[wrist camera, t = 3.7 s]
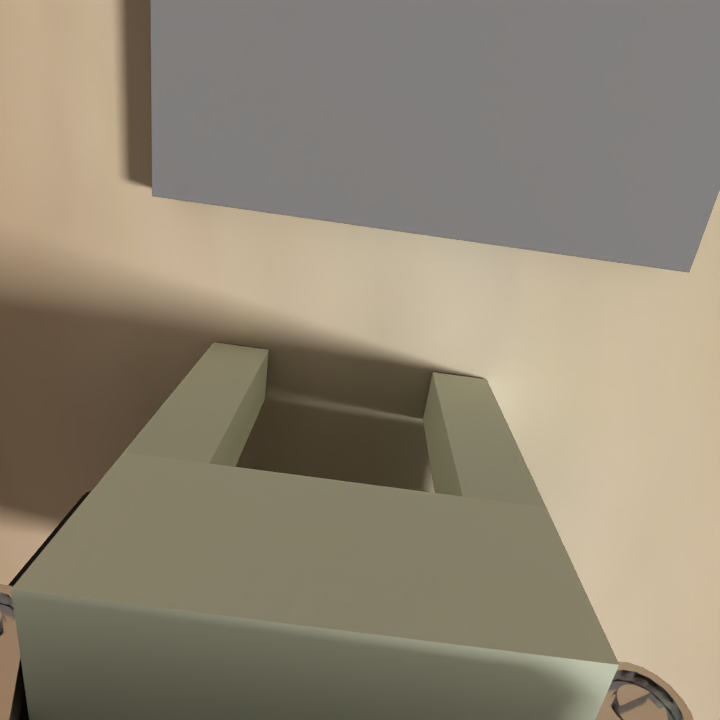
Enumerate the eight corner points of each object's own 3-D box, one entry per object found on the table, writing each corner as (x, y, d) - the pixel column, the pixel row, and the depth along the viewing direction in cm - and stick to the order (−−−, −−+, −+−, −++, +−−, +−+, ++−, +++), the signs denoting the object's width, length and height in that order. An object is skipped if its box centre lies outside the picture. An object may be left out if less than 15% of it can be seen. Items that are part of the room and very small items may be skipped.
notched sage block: (486, 379, 12) (619, 665, 5) (436, 588, 14) (486, 967, 8) (213, 341, 12) (11, 588, 5) (206, 558, 14) (57, 920, 7)
